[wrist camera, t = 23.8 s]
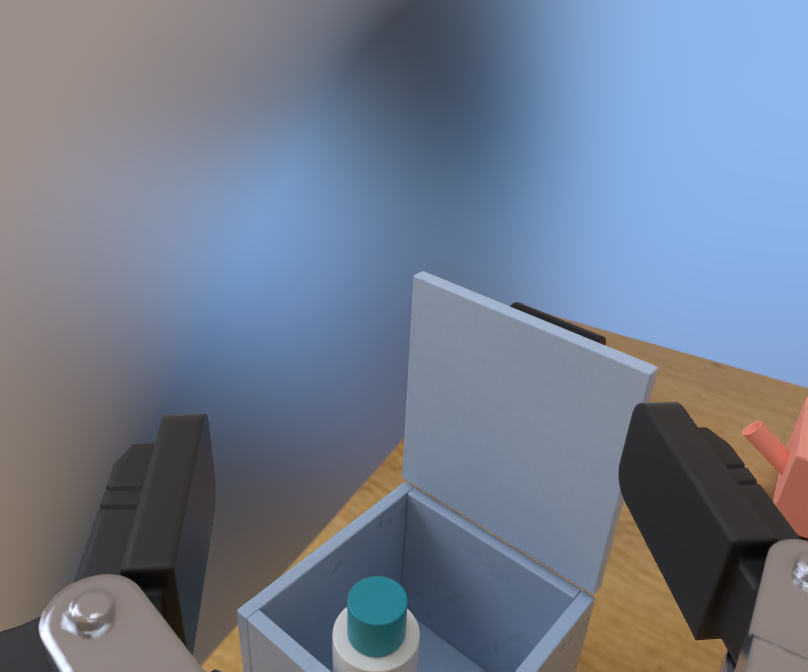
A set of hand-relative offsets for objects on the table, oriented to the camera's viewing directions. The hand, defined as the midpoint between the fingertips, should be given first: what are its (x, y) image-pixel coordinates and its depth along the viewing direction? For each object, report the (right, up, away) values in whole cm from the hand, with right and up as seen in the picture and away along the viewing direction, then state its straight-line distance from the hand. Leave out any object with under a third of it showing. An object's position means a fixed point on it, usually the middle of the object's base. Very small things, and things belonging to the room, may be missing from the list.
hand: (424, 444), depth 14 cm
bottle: (-2, -19, +22) cm, 29 cm away
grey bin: (0, -18, +24) cm, 30 cm away
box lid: (+4, -2, +19) cm, 20 cm away
